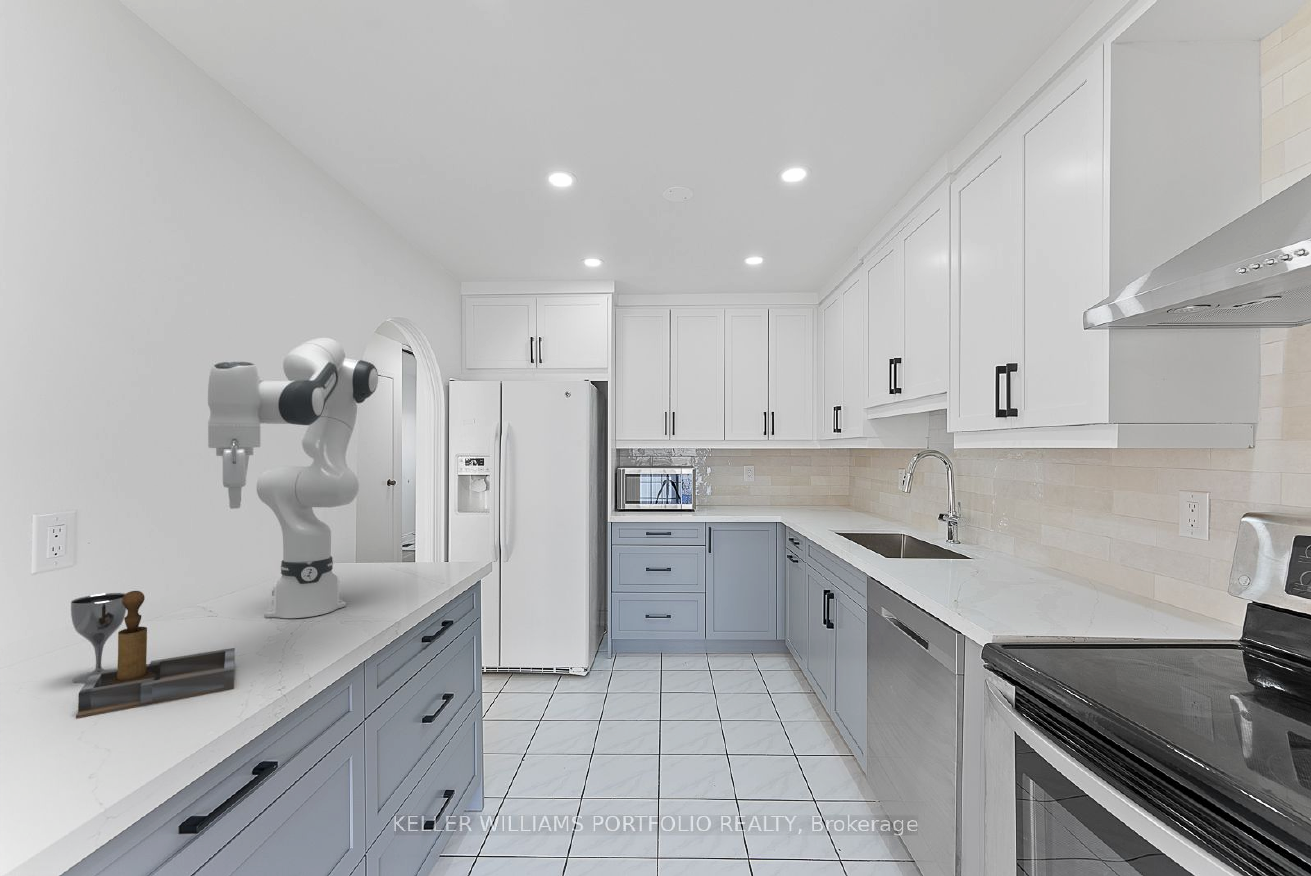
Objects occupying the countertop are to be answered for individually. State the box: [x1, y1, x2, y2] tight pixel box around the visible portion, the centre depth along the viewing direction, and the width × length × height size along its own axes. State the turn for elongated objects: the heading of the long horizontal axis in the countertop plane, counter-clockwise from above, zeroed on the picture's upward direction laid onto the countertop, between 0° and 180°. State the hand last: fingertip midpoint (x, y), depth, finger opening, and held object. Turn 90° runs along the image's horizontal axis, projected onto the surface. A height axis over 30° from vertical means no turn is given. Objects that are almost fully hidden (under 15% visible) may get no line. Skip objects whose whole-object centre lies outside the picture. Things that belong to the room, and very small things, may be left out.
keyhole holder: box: [75, 647, 236, 719], centre depth 108 cm, size 14×21×4 cm, turn 125°
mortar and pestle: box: [107, 590, 156, 686], centre depth 105 cm, size 7×6×18 cm
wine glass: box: [70, 592, 127, 684], centre depth 114 cm, size 8×8×15 cm
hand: (235, 505), depth 122 cm, fingers open, 8 cm apart
